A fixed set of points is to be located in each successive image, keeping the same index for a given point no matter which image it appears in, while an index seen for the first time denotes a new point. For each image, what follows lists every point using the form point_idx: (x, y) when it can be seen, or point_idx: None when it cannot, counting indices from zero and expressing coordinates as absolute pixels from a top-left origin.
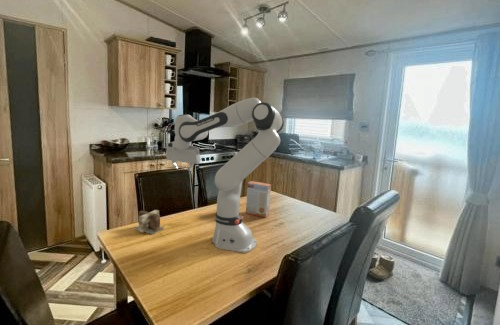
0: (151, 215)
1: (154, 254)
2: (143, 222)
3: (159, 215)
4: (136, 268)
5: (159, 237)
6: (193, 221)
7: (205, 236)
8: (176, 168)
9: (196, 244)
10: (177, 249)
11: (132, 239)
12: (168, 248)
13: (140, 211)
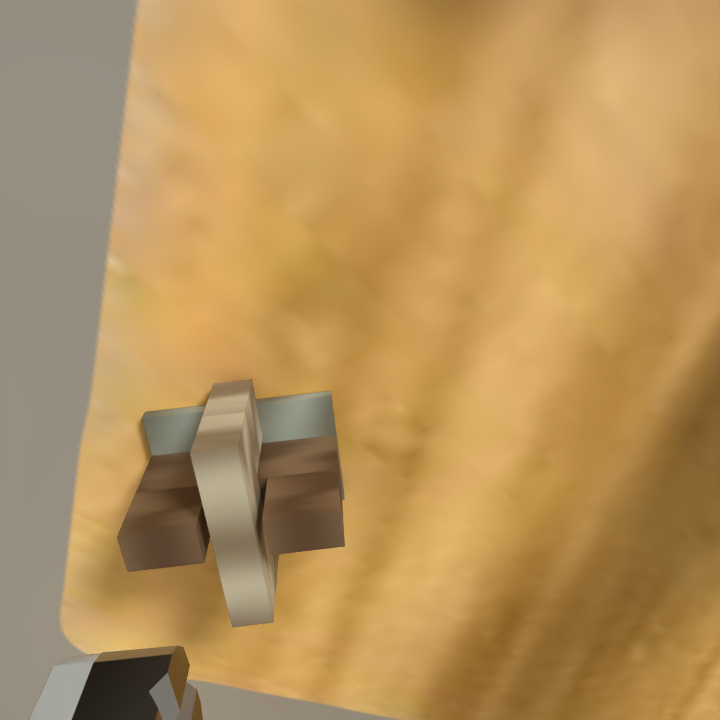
0: (283, 551)
1: (540, 615)
2: (273, 576)
3: (340, 514)
4: (555, 712)
5: (413, 490)
6: (432, 104)
7: (700, 289)
8: (194, 707)
9: (697, 416)
10: (620, 521)
11: (296, 593)
12: (565, 542)
13: (129, 560)
